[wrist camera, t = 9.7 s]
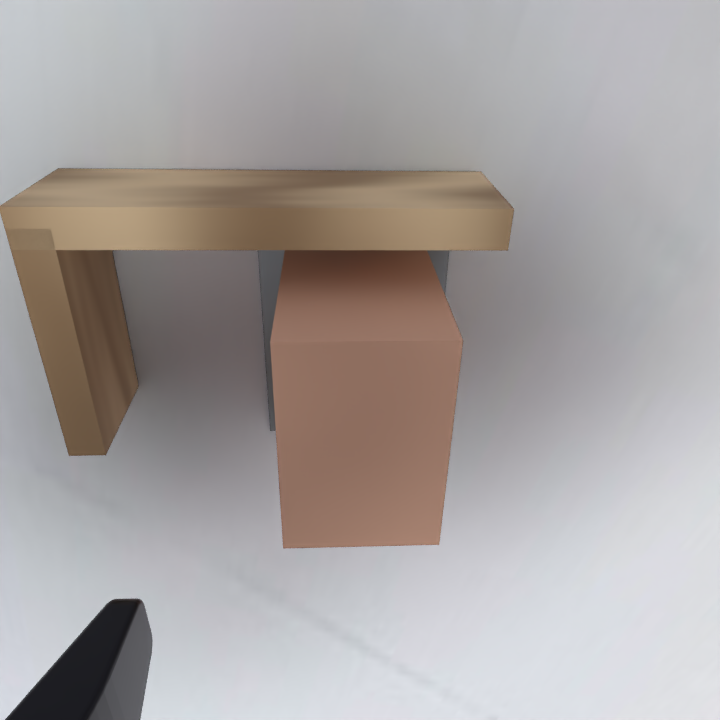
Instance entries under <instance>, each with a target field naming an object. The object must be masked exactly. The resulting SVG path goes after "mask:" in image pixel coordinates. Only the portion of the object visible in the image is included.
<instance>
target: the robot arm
mask: <svg viewBox="0 0 720 720" xmlns="http://www.w3.org/2000/svg"><path fill="white" fill-rule="evenodd" d="M151 653H152V633H151V629H150V625H149V621H148V617H147V613H146V609H145V606H144V603H143V602H142V600H140V599H114V600H112V601H110V602H109V603H107V604H106V605H105V607H104V608H103V609H102V610H101V611H100V612H99V613H98V615H97V616H96V617H95V618H94V619H93V620H92V621H91V622H90V624H89V625H88V626H87V627H86V628H85V629H84V630H83V632H82V633H81V634H80V635H79V636H78V637H77V638H76V640H75V641H74V642H73V643H72V644H71V645H70V646H69V647H68V649H67V650H66V651H65V652H64V653H63V654H62V655H61V657H60V658H59V659H58V660H57V661H56V662H55V663H54V665H53V666H52V667H51V668H50V669H49V670H48V671H47V673H46V674H45V675H44V676H43V677H42V678H41V679H40V680H39V682H38V683H37V684H36V685H35V686H34V687H33V688H32V690H31V691H30V692H29V693H28V694H27V695H26V696H25V698H24V699H23V700H22V701H21V702H20V703H19V704H18V706H17V707H16V708H15V709H14V710H13V711H12V712H11V713H10V715H9V716H8V717H7V718H6V719H5V720H140V718H141V712H142V706H143V700H144V694H145V689H146V683H147V677H148V671H149V665H150V660H151Z"/></svg>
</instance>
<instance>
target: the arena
mask: <svg viewBox="0 0 720 720" xmlns="http://www.w3.org/2000/svg"><path fill="white" fill-rule="evenodd" d="M513 212H514V208H513V207H512V206H511V205H510V204H509V203H508V202H507V200H506V199H505V198H504V197H503V196H502V195H501V194H500V193H499V191H498V190H497V189H496V188H495V187H494V186H493V185H492V184H491V182H490V181H489V180H488V179H487V178H486V177H485V176H484V174H483V173H482V172H468V171H331V170H195V169H59V168H58V169H57V170H55V171H53V172H52V173H50V174H49V175H47V176H46V177H44V178H43V179H41V180H39V181H38V182H36V183H35V184H33V185H32V186H30V187H29V188H27V189H25V190H24V191H22V192H21V193H19V194H18V195H16V196H15V197H13V198H11V199H10V200H8V201H7V202H5V203H4V204H2V205H1V206H0V213H1V217H2V220H3V224H4V227H5V231H6V234H7V238H8V241H9V245H10V249H11V252H12V256H13V259H14V263H15V266H16V270H17V273H18V277H19V280H20V284H21V287H22V291H23V295H24V298H25V302H26V305H27V309H28V312H29V316H30V319H31V323H32V326H33V330H34V333H35V337H36V341H37V344H38V348H39V351H40V355H41V358H42V362H43V365H44V369H45V372H46V376H47V379H48V383H49V387H50V390H51V394H52V397H53V401H54V404H55V408H56V411H57V415H58V418H59V422H60V425H61V429H62V433H63V436H64V440H65V443H66V447H67V450H68V454H69V456H81V455H106V454H107V451H108V449H109V447H110V445H111V443H112V441H113V439H114V437H115V435H116V433H117V431H118V429H119V426H120V424H121V422H122V420H123V418H124V416H125V414H126V412H127V410H128V408H129V406H130V403H131V401H132V399H133V397H134V395H135V393H136V391H137V389H138V387H139V386H138V381H137V376H136V371H135V366H134V361H133V355H132V350H131V345H130V340H129V335H128V330H127V325H126V320H125V314H124V309H123V304H122V299H121V294H120V289H119V284H118V279H117V273H116V268H115V263H114V258H113V253H112V250H258V257H259V272H260V286H261V301H262V315H263V330H264V345H265V359H266V374H267V388H268V403H269V417H270V431H276V426H275V410H274V395H273V379H272V363H271V347H270V340H271V334H272V327H273V321H274V315H275V309H276V302H277V296H278V290H279V284H280V278H281V271H282V265H283V259H284V253H285V250H427V251H428V254H429V256H430V259H431V261H432V264H433V266H434V269H435V271H436V274H437V276H438V279H439V281H440V284H441V286H442V289H443V291H444V294H445V288H446V277H447V267H448V257H449V250H508V246H509V240H510V233H511V226H512V219H513Z"/></svg>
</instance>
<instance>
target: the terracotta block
mask: <svg viewBox="0 0 720 720" xmlns="http://www.w3.org/2000/svg"><path fill="white" fill-rule="evenodd" d="M462 346H463V339H462V337H461V334H460V332H459V329H458V327H457V324H456V322H455V319H454V317H453V314H452V312H451V309H450V307H449V304H448V302H447V299H446V296H445V294H444V291H443V289H442V286H441V284H440V281H439V279H438V276H437V274H436V271H435V269H434V266H433V264H432V261H431V259H430V256H429V254H428V251H427V250H285V253H284V259H283V265H282V271H281V278H280V284H279V290H278V296H277V302H276V309H275V315H274V321H273V327H272V334H271V340H270V347H271V363H272V379H273V395H274V410H275V426H276V442H277V457H278V473H279V489H280V505H281V520H282V536H283V548H320V547H361V546H403V545H439V541H440V533H441V524H442V516H443V507H444V499H445V490H446V482H447V473H448V465H449V456H450V448H451V439H452V431H453V422H454V414H455V405H456V397H457V388H458V380H459V371H460V363H461V354H462Z"/></svg>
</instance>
